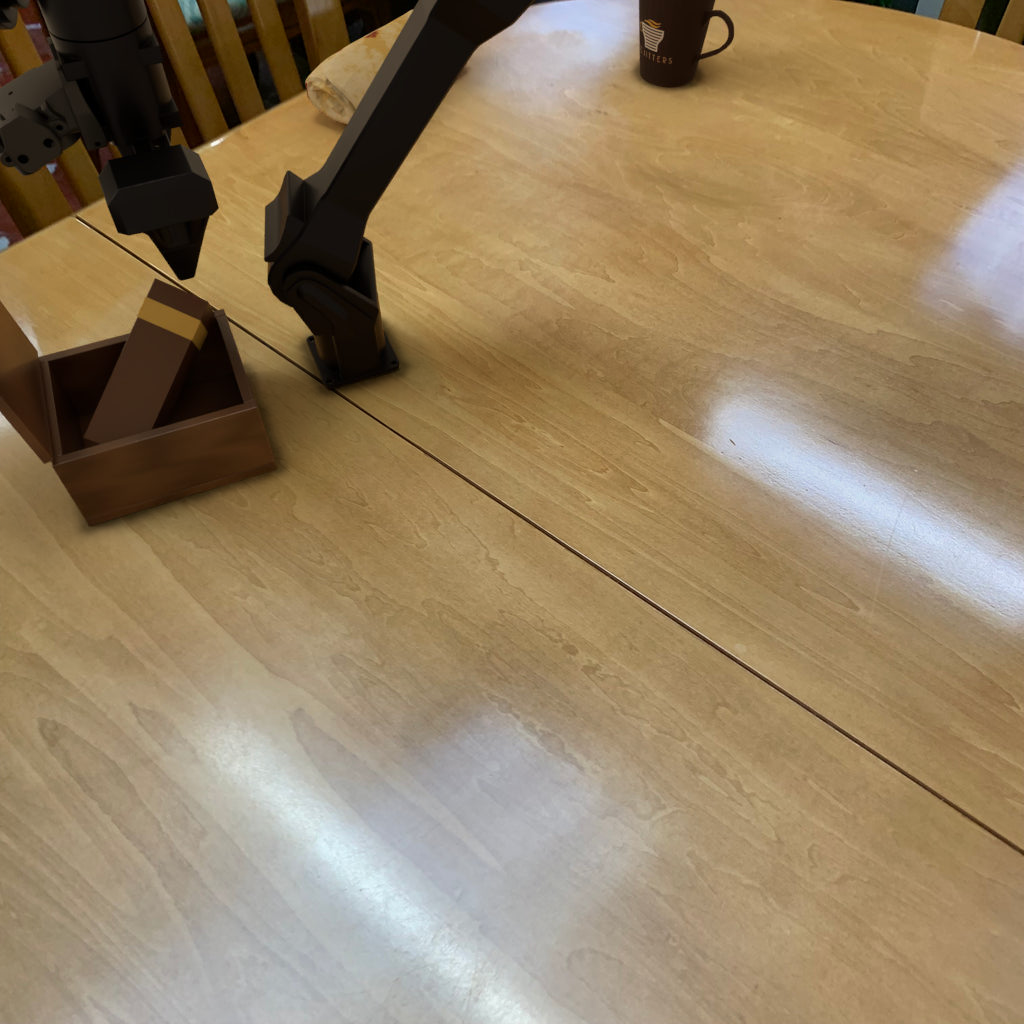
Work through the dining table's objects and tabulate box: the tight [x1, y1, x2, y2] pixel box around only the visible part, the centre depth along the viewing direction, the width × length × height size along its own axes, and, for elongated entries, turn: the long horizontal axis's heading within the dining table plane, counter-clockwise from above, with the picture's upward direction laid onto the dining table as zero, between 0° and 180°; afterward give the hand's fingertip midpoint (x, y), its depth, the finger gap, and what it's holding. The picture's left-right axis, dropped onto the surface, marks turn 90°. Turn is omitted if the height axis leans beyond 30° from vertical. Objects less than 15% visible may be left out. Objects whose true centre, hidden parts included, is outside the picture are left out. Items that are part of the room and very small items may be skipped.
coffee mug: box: [638, 0, 735, 88], centre depth 102 cm, size 12×9×10 cm
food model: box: [304, 8, 414, 125], centre depth 102 cm, size 10×7×20 cm
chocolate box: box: [83, 277, 215, 445], centre depth 68 cm, size 4×5×12 cm
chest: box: [38, 308, 278, 527], centre depth 70 cm, size 14×12×7 cm
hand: (172, 241), depth 67 cm, fingers open, 9 cm apart
